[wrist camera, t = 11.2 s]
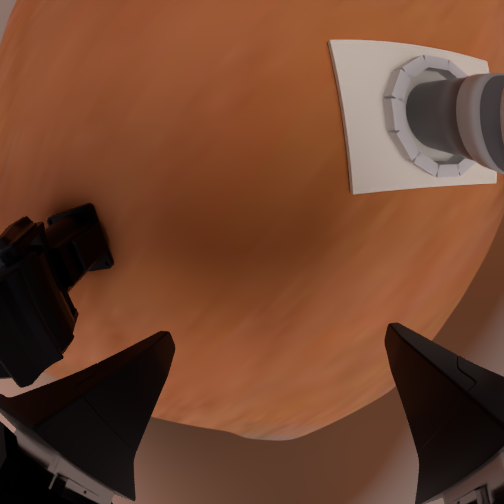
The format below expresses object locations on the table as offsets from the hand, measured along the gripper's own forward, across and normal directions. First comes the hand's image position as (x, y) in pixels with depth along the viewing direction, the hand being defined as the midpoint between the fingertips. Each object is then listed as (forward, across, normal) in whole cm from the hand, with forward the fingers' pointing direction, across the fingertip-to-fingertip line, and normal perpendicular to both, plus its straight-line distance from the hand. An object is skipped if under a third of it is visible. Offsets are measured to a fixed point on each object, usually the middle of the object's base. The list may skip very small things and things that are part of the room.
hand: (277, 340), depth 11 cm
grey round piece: (+13, +13, +9) cm, 20 cm away
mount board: (+14, +13, +9) cm, 21 cm away
